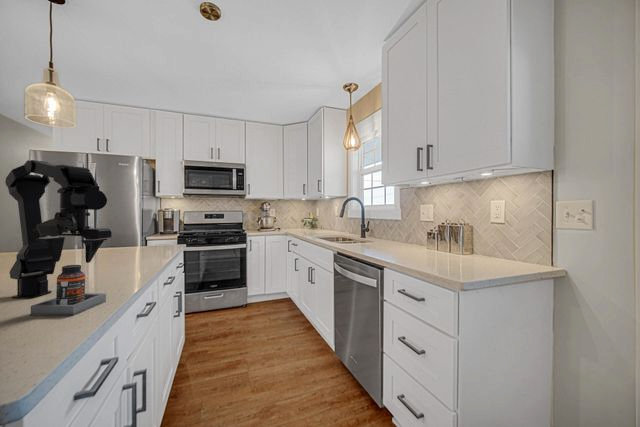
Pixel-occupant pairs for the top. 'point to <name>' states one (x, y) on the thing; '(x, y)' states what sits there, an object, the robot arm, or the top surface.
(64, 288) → the supplement bottle
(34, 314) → the tray
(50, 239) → the robot arm
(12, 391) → the top surface
